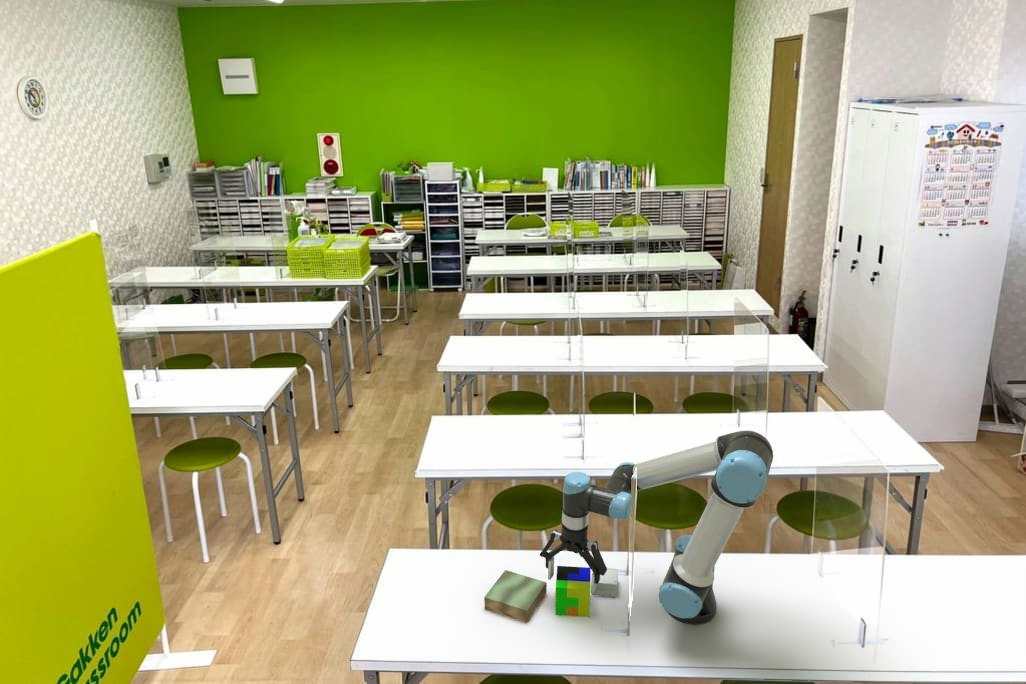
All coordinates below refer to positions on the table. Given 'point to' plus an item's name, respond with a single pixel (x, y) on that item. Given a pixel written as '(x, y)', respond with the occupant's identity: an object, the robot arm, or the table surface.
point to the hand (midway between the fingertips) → (571, 583)
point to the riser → (515, 596)
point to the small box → (607, 584)
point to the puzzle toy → (573, 591)
